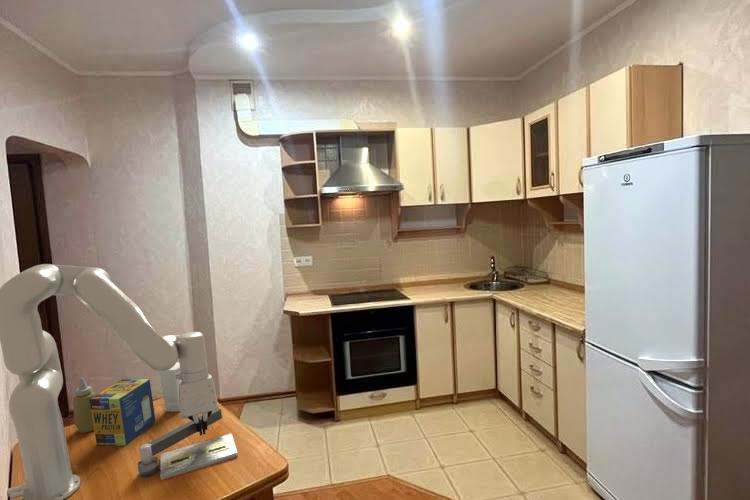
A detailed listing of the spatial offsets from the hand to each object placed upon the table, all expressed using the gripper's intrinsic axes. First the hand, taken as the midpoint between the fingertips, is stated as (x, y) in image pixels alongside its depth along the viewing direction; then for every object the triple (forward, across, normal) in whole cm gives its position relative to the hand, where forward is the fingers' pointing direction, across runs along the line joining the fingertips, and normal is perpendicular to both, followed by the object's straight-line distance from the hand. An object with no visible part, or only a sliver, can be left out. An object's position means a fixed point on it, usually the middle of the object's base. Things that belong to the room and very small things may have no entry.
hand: (202, 432), depth 133 cm
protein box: (+5, -22, +24) cm, 33 cm away
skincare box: (+5, -6, +35) cm, 36 cm away
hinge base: (+5, -15, -5) cm, 16 cm away
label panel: (+4, -2, -5) cm, 7 cm away
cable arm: (+1, -5, +1) cm, 5 cm away
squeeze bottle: (+5, -34, +35) cm, 49 cm away
